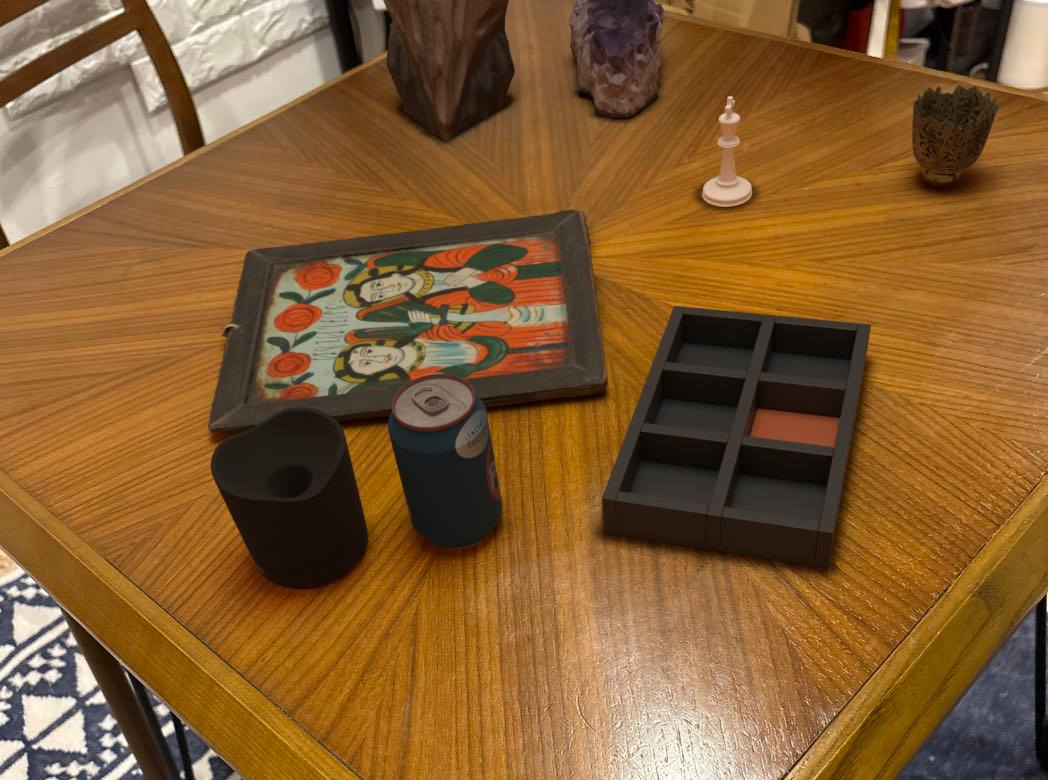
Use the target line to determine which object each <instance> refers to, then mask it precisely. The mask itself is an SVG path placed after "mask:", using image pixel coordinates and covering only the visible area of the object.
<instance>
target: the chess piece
mask: <svg viewBox="0 0 1048 780" xmlns="http://www.w3.org/2000/svg"><path fill="white" fill-rule="evenodd" d="M735 104H736V100H735V99H734V96H731V95H729V96H728V97H727V98H726V106H725V107H724V113H722V114H721V115H720V116H719V117H718V124H719V127H720V129H721V133H722V136H720V137H719V138H718V139H717V146H719V147H720V148H722V156H721V164H720V169H719V174H718V175H717V176H716V177H713V178H710V179H709V180H707V182H705V183H704V185H703V188H702V192H701V197H702V199H703V200H704V202H705V203H707V204H709V205H711V206H715V207H720V208H730V207H736V206H741V205H742V204H745V203H746V202H748V201H749V200H750V199H751V198H752V196H753V190H752V189H753V188H752V187H753V186H752V183H751V182H750V181H748V180H747V179H746V178H744V177H741V176H739V175H737V170H736V163H735V150H734V148H735V147H738V146H739V145H740V144H741V140H740V137H738V135H735V134H736V133H737V128H738V126H739V124H740V121H741V116H740V115H739V114H738V113H736V112H734V111H733V110H734V107H735Z"/></svg>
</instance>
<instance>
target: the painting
mask: <svg viewBox="0 0 1048 780" xmlns="http://www.w3.org/2000/svg"><path fill="white" fill-rule="evenodd" d="M591 244H592V242H591V238H590V234H589V228H588V224H587V217H586V213H585V211H584V210H577V209H576V210H575V209H567V210H566V209H565V210H561V211H556V212H552V213H546V214H540V215H531V216H523V217H516V218H504V219H498V220H497V219H496V220H488V221H481V222H473V223H465V224H458V225H450V226H441V227H434V228H426V229H419V230H410V231H408V230H407V231H402V232H401V231H400V232H393V233H382V234H375V235H367V236H359V237H351V238H342V239H334V240H333V239H332V240H325V241H317V242H316V241H315V242H312V243H301V244H289V245H283V246H271V247H261V248H254V249H249V250H247V252H246V253H245V255H244V258H243V266H242V271H241V274H240V279H239V282H238V287H237V289H236V297H235V300H234V303H233V306H234V307H233V312H232V313H231V321H230V322H228V323H227V324H224V326H222V328H221V337H225V338H226V344H225V346H224V350H223V354H222V355H223V356H222V360H221V363H220V368H219V371H218V377H217V382H216V387H215V390H214V396H213V398H212V399H213V400H212V402H211V409H210V412H209V417H208V422H207V429H208V431H209V432H210V433H211V434H229V433H230V434H231V433H241V432H244V431H246V430H249V429H251V428H253V427H255V426H257V425H258V424H260V423H261V422H263V421H265V420H266V419H268V418H269V417H271V416H272V415H274V414H276V413H278V412H280V411H282V410H285V409H289V408H296V407H304V408H311V409H316V410H319V411H322V412H324V413H327V414H328V415H330V416H332V417H333V418H334V419H335V420H337V421H338V422H342V421H343V422H344V421H345V422H346V421H353V420H365V419H374V418H386V417H390V415H391V412H392V401H393V398H394V396H395V394H396V393H397V392H398V390H399V389H400V388H401V387H403V386H404V385H405V384H407V383H408V382H410V381H412V380H414V379H416V378H419V377H422V376H426V375H431V374H450V375H455V376H458V377H460V378H463V379H464V380H466V381H467V382H468V383H470V385H471V386H472V387H473V389H474V392H475V394H476V395H477V396H478V397H479V398H480V399H481V400H482V402H483V403H484V405H485V407H486V408H492V407H501V406H502V407H503V406H511V405H517V404H525V403H529V402H530V403H531V402H536V401H546V400H554V399H563V398H573V397H583V396H590V395H595V394H599V393H601V392H603V391H604V390H605V389H606V388H607V386H608V384H609V383H608V371H607V367H606V358H605V349H604V343H603V342H604V341H603V336H602V329H601V328H602V327H601V322H600V314H599V307H598V299H597V291H596V284H595V276H594V275H595V274H594V267H593V260H592V254H591V247H590V246H591Z"/></svg>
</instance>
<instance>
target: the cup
mask: <svg viewBox="0 0 1048 780" xmlns="http://www.w3.org/2000/svg"><path fill="white" fill-rule="evenodd" d="M991 100H992V99H991V93H990V92H989V91H988V92H986V94H985V95H983V93H982V90H981V89H979V88H978V86H976V85H972V86H970V87H968V88H965V87H964V85H961V84H958V85H957V86H956V87H955V88H954V91H953V92H945V93H943V92H942V88H941V86H940V85H939V86H937V87H936V88H935V90H934V89H933V88H931V87H929V86H928V87H926V89H925V90H924V91H923V93H922V95H921V94H920V93H918V94H917V95H916V98H915V100H913V105H912V129H911V132H912V133H911V145H912V152H913V156H914V158H915V161H916V162H917V164H918V165H919V166H920V167H921V168H923V170H922V177H923V180H924V181H925V183H927V184H928V185H929V186H931V187H935V188H950V187H953V186H954V185H955V186H956V185H957V184H958V183H959V182H960V181H961V179H962V177H963V175H964V171H966V170H968V169H969V168H970V167H972V166H973V165H974V164H975V163H976V162H977V161H978V159H980V157H981V155H982V153H983V151H984V149H985V146H986V143H987V141H988V138H989V137H990V133H991V130H992V127H993V124H994V121H995V118H996V115H997V112H998V109H999V104H1000V103H999V102H998V103H997V101H998V98H997V97H994V99H993V100H992V101H991Z"/></svg>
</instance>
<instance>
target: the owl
mask: <svg viewBox="0 0 1048 780" xmlns="http://www.w3.org/2000/svg"><path fill="white" fill-rule="evenodd" d="M509 1H510V0H382V2H383V4H384V6H385V8H386V10H387V12H388V14H389V16H390V18H391V23H390V24H389V37H388V39H387V41H388V42H387V53H386V67H387V70H388V72H389V75H390V77H391V80H392V82H393V85H394V87H395V89H396V92H397V94H398V96H399V98H400V100H401V103H402V106H403V108H402V109H403V110H402V111H403V112H404V113H406V114H407V115H408V116H410V117H413V118H414V121H415V122H417V123H420V124H421V125H422V126H424V127H426V130H427V131H428V133H430V134H432V135H435V136H436V137H438V138H440V139H441V140H442V141H445V142H447V141H450V140H451V139H452V138H454V137H456V136H458V135H459V134H461V133H462V132H464V131H466V130H468V129H470V128H472V127H473V126H474V125H476V124H477V123H479V122H480V121H481V122H482V121H484V120H486V119H488V118H489V117H490V116H491V115H492V114H494V113H496V112H498V111H501V110H503V109H504V108H506V107H507V106H508V104H509V103H510V102H511V98H510V97H509V96H508V92H509V88H510V86H511V83H512V80H513V78H514V76H515V75H516V69H515V64H514V61H513V57H512V53H511V49H510V42H509V39H508V37H507V33H506V16H507V10H508V6H509Z"/></svg>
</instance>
